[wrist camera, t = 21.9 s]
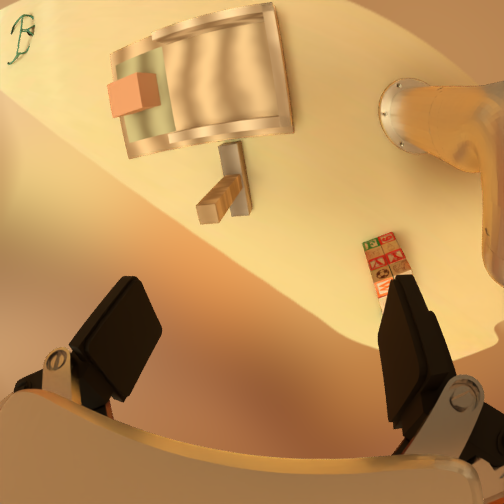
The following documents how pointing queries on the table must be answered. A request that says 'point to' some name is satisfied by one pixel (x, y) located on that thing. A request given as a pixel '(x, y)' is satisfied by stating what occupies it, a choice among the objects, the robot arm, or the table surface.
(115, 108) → the block
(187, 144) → the cubby
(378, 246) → the stack of blocks
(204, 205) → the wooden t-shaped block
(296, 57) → the table surface
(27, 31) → the sunglasses
